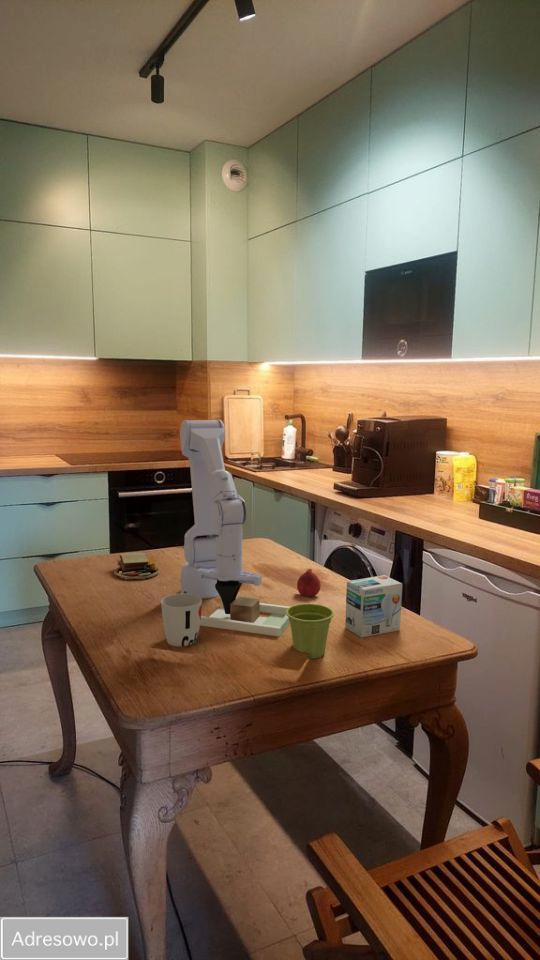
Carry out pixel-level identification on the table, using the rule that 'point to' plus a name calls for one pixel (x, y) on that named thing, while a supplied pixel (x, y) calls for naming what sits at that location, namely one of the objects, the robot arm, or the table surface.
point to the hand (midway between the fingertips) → (228, 612)
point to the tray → (261, 626)
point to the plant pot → (310, 628)
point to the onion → (308, 584)
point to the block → (244, 609)
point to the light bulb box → (373, 605)
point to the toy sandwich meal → (136, 566)
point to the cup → (181, 618)
